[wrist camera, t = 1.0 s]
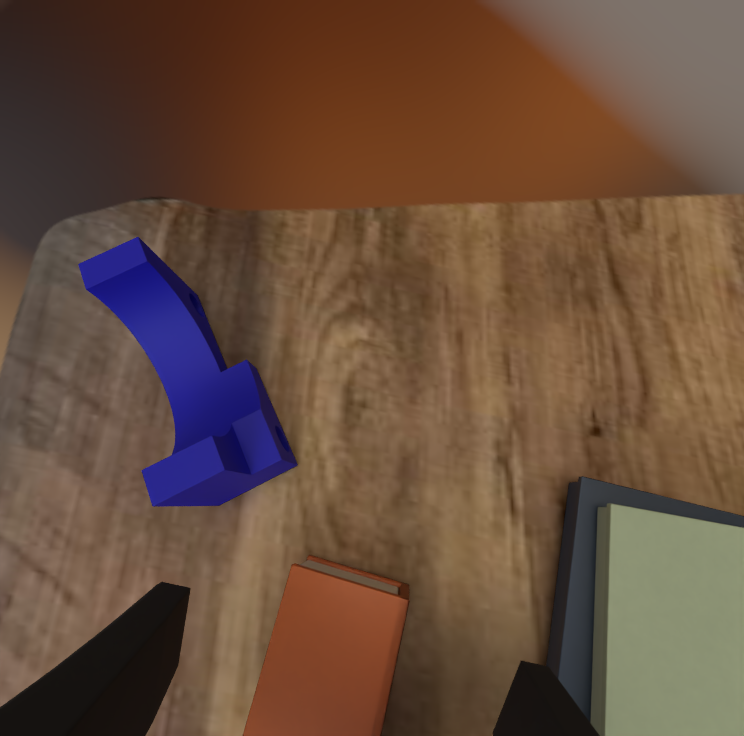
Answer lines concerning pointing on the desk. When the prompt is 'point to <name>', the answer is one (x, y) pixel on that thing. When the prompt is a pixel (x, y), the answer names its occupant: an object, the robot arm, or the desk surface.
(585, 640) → the box stack
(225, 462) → the blue curved piece
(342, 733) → the book
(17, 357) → the desk surface
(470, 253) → the desk surface
